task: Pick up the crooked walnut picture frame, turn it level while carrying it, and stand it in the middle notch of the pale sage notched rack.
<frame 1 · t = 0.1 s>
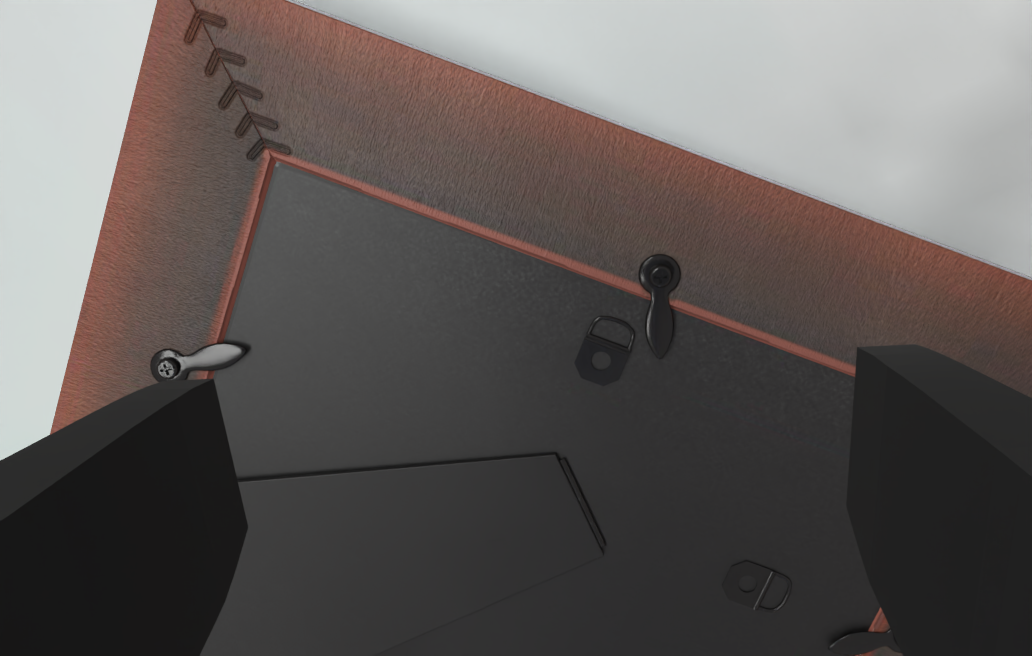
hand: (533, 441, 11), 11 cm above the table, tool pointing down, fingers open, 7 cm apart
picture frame: (549, 468, 23), on the table
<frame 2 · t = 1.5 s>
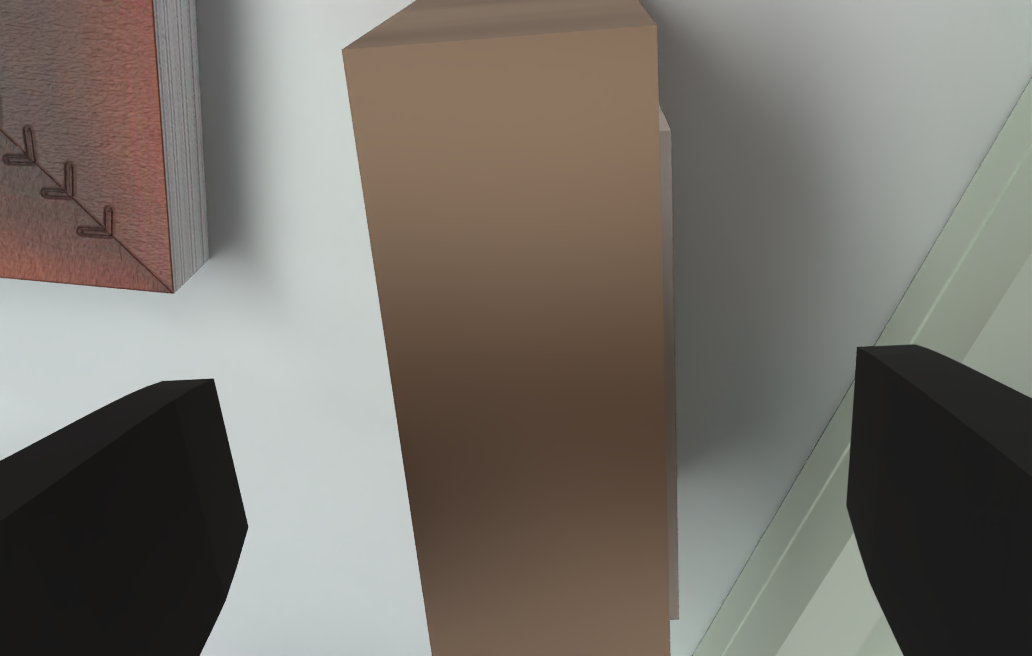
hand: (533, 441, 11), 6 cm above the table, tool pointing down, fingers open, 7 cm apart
frame: (543, 265, 16), on the table
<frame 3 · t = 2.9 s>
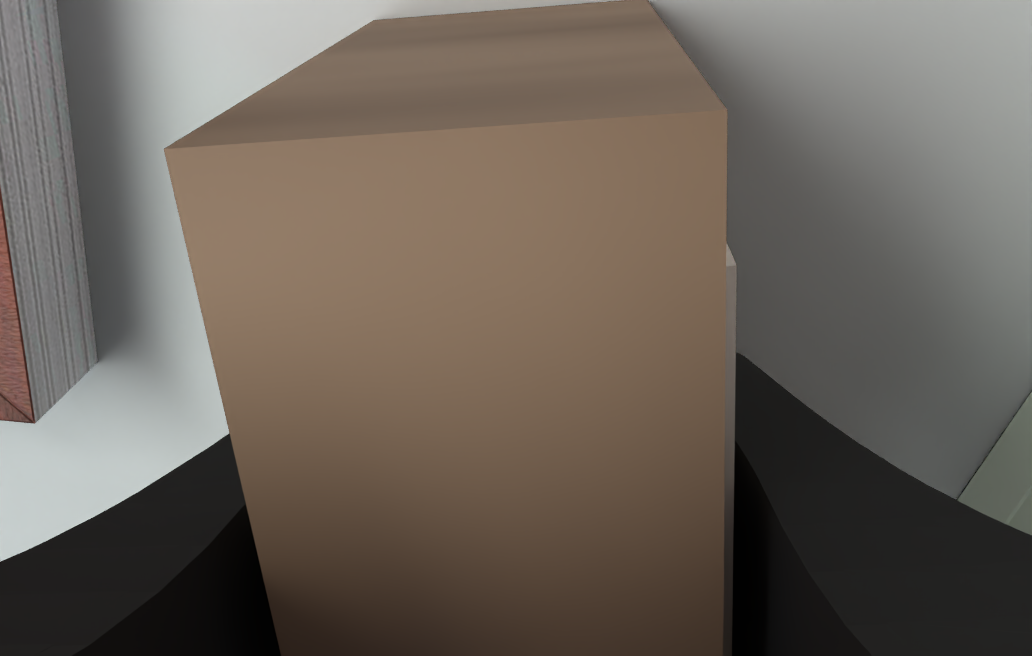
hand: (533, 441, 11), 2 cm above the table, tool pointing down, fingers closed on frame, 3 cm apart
frame: (537, 375, 12), on the table, touching gripper
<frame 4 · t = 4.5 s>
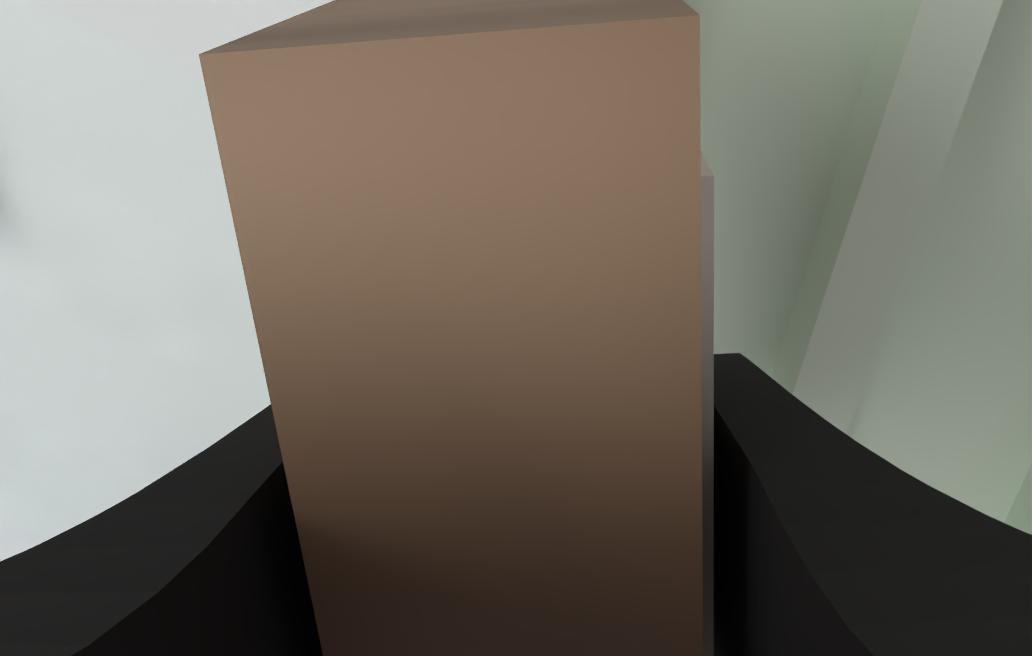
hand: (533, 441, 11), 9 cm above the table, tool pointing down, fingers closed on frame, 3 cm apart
rack: (960, 288, 19), on the table
frame: (535, 325, 13), point 6 cm above the table, touching gripper
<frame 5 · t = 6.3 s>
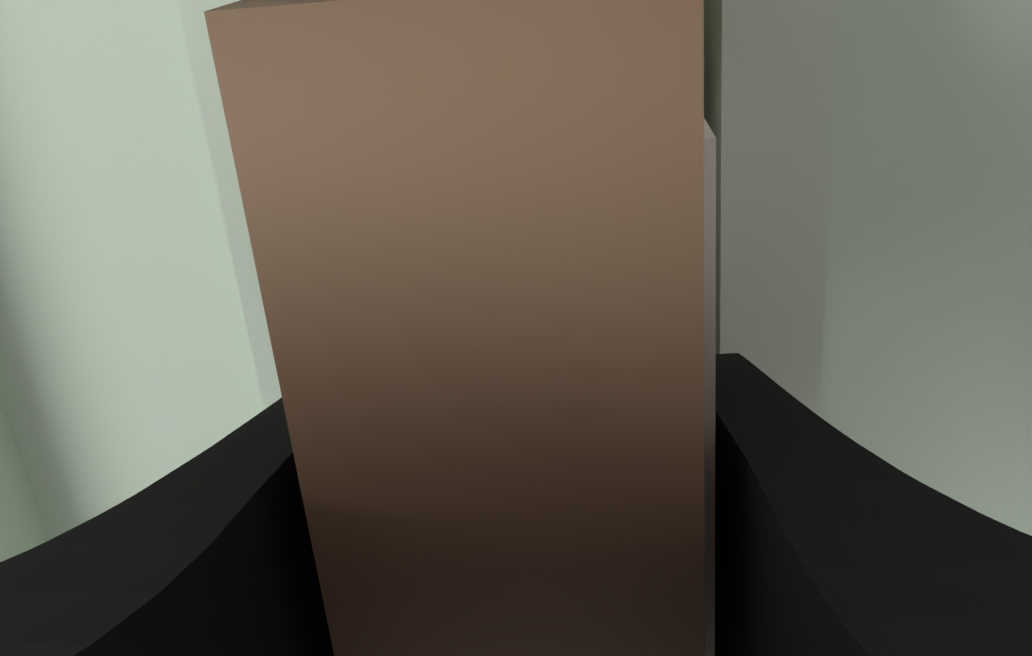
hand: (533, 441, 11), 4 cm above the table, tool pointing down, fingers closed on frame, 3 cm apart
rack: (541, 316, 14), on the table
frame: (536, 302, 13), point 1 cm above the table, touching gripper, rack
when the fingers open (4 cm above the table, at t = 6.8 s): frame stays where it is, resting on rack.
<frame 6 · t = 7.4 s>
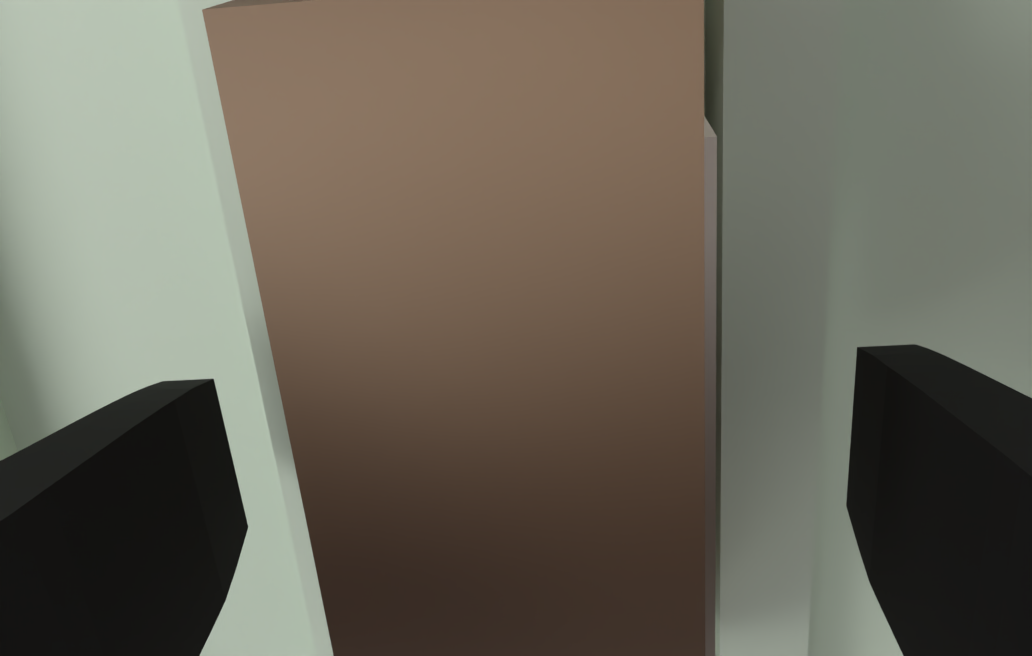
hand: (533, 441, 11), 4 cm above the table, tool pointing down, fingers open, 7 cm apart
rack: (542, 315, 14), on the table
frame: (536, 302, 13), point 1 cm above the table, touching rack
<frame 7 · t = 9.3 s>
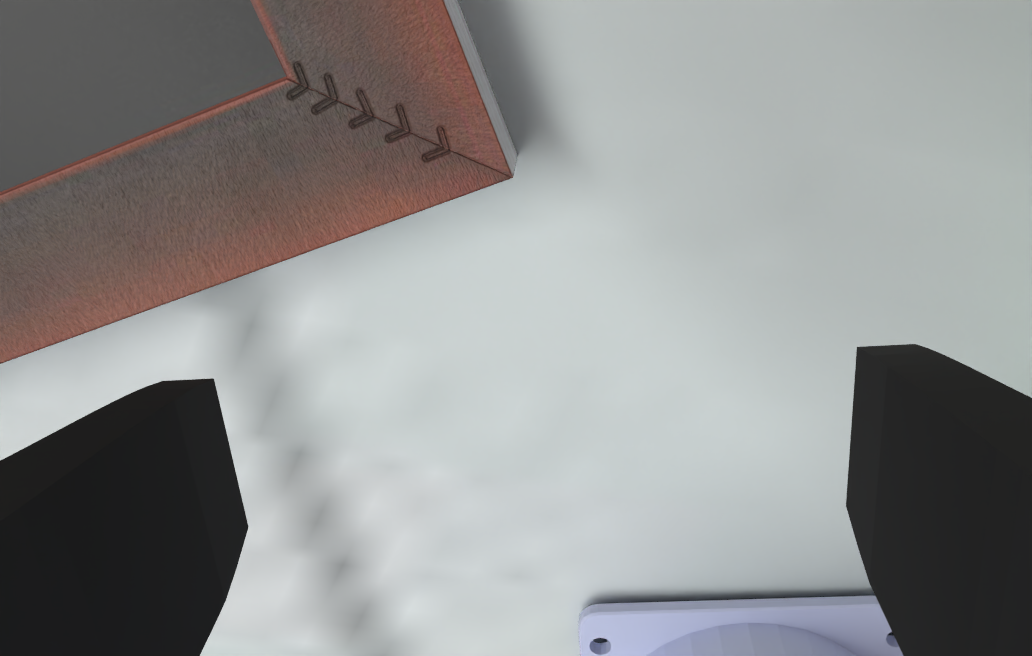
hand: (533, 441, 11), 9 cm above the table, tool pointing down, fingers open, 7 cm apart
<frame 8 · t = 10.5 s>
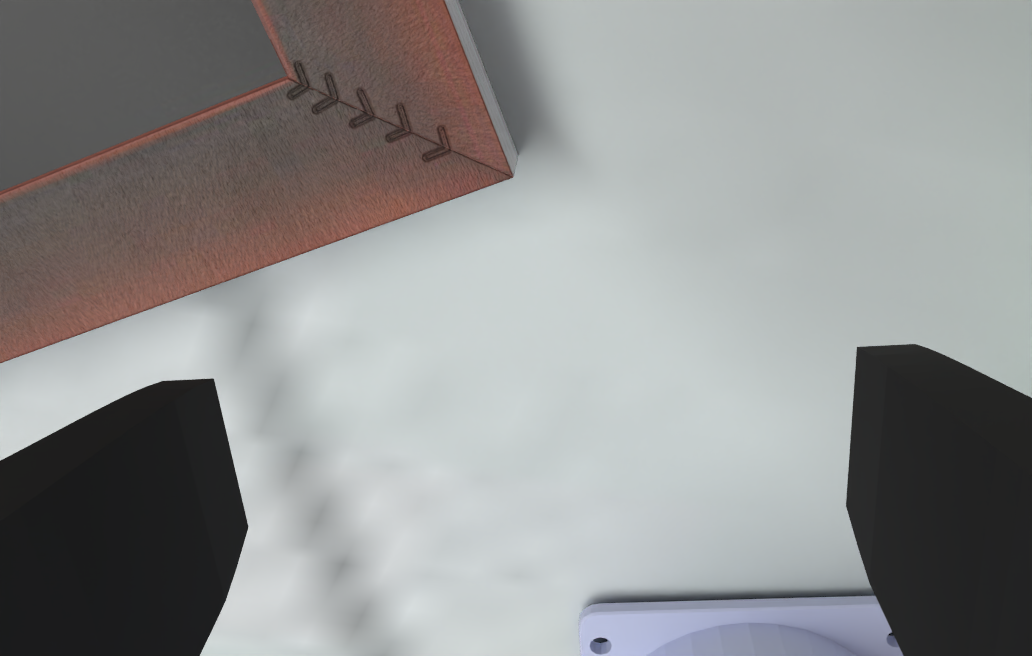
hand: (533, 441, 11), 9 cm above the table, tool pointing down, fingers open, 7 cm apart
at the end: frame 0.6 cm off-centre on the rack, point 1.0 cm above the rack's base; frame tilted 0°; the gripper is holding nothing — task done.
